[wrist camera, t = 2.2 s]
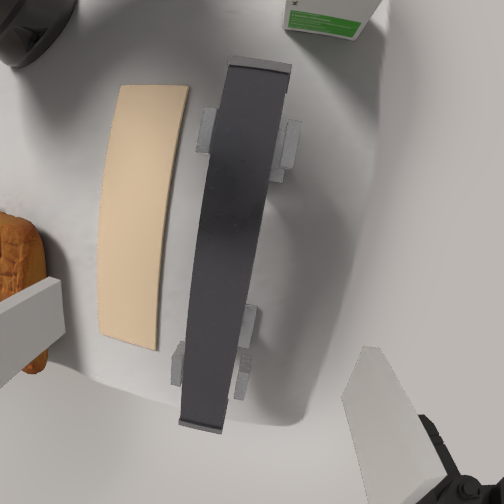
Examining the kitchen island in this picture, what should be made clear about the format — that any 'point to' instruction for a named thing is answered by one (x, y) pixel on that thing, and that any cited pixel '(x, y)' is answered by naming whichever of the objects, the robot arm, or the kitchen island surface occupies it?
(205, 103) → the kitchen island surface
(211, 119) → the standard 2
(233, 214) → the rail
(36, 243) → the inscribed clay slab
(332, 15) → the skincare box
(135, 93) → the mat
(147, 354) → the kitchen island surface
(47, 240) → the kitchen island surface
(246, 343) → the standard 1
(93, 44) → the kitchen island surface
